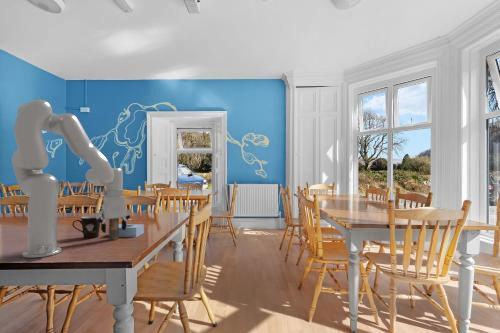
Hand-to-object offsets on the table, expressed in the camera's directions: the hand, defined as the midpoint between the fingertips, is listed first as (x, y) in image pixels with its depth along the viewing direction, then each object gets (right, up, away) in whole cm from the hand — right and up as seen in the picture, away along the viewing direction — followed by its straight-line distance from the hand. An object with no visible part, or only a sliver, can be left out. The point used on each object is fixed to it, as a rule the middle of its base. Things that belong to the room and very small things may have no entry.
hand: (113, 230), depth 143 cm
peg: (0, -4, 0) cm, 4 cm away
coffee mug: (-15, -4, +4) cm, 16 cm away
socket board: (+2, -4, +10) cm, 11 cm away
